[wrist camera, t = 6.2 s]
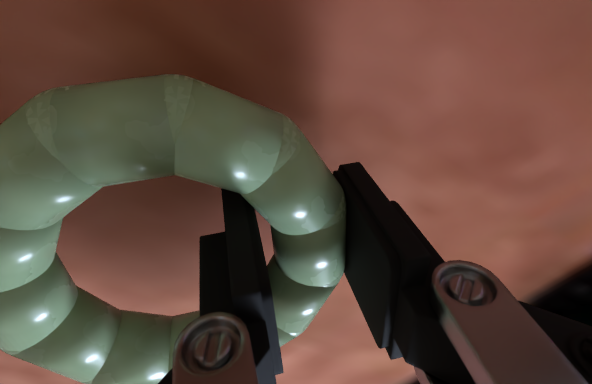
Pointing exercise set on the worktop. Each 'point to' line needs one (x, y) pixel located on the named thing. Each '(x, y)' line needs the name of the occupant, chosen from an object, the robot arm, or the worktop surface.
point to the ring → (141, 166)
